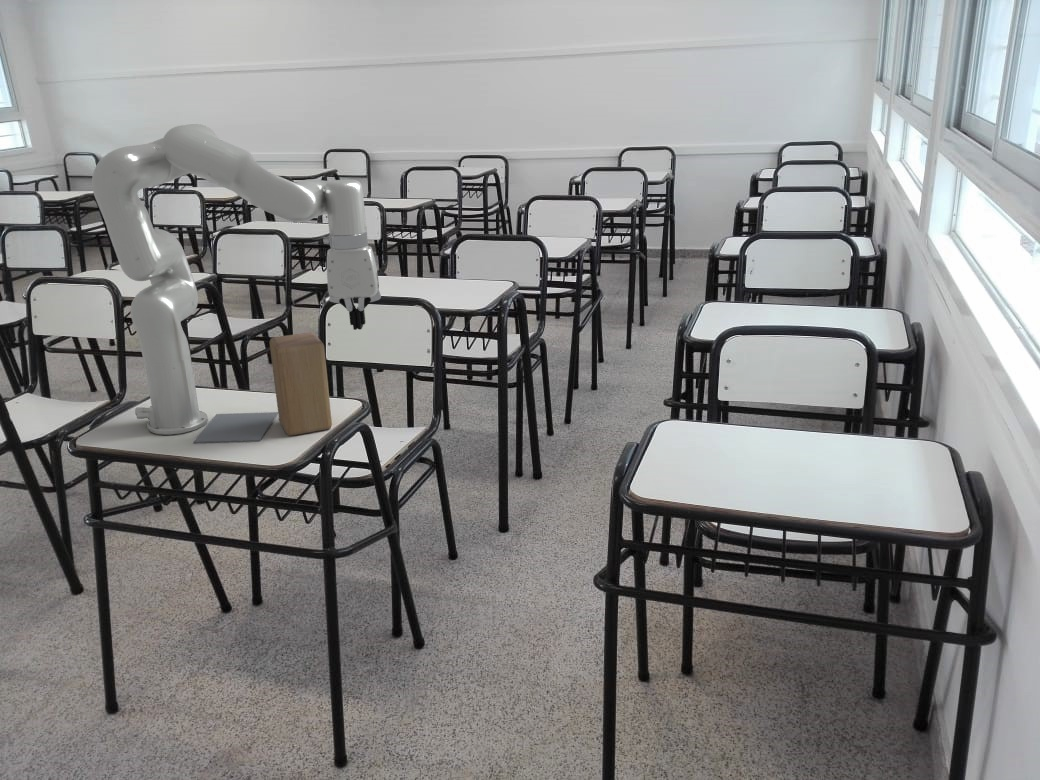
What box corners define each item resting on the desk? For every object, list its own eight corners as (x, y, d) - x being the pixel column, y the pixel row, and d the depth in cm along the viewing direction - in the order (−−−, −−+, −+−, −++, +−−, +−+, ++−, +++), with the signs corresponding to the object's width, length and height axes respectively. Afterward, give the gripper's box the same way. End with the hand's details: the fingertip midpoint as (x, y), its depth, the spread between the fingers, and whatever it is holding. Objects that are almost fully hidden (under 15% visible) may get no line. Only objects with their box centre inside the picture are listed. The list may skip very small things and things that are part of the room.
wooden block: (278, 422, 189) (268, 336, 182) (323, 414, 193) (314, 330, 186) (287, 438, 181) (276, 348, 174) (333, 429, 184) (324, 342, 178)
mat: (193, 443, 179) (193, 441, 179) (216, 415, 194) (216, 413, 194) (260, 441, 179) (259, 439, 179) (278, 413, 194) (277, 412, 194)
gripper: (309, 246, 170) (319, 334, 176) (383, 243, 170) (391, 331, 176) (316, 240, 177) (326, 324, 183) (387, 237, 177) (395, 321, 183)
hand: (358, 327), depth 179 cm, fingers closed
